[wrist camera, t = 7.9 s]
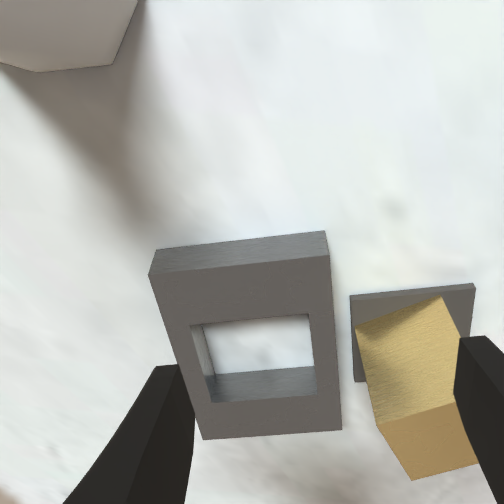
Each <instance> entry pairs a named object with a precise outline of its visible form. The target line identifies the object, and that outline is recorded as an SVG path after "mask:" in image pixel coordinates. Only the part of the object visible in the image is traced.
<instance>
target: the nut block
mask: <svg viewBox="0 0 504 504" xmlns="http://www.w3.org/2000/svg"><path fill="white" fill-rule="evenodd" d="M354 327H355V332H356V336H357V341H358V345H359V350H360V354H361V358H362V363H363V367H364V372H365V376H366V381H367V385H368V390H369V394H370V398H371V403H372V407H373V412H374V416H375V421H376V425H377V427H378V429H379V430H380V432H381V433H382V435H383V436H384V438H385V440H386V441H387V443H388V444H389V446H390V447H391V449H392V451H393V452H394V454H395V455H396V457H397V458H398V460H399V462H400V463H401V465H402V466H403V468H404V470H405V471H406V473H407V474H408V476H409V477H410V479H411V481H413V480H417V479H420V478H424V477H428V476H432V475H436V474H440V473H443V472H447V471H451V470H455V469H459V468H462V467H466V466H470V465H474V464H478V463H479V462H478V460H477V457H476V455H475V453H474V451H473V448H472V446H471V444H470V442H469V439H468V437H467V435H466V432H465V430H464V427H463V423H462V420H461V417H460V414H459V411H458V408H457V404H456V401H455V398H454V395H453V388H454V379H455V371H456V362H457V354H458V346H459V338H461V337H460V335H459V332H458V330H457V328H456V326H455V324H454V322H453V320H452V318H451V316H450V314H449V312H448V309H447V307H446V305H445V303H444V301H443V299H442V297H441V295H438V296H435V297H432V298H429V299H427V300H424V301H421V302H419V303H416V304H413V305H410V306H408V307H405V308H402V309H400V310H397V311H394V312H391V313H389V314H386V315H383V316H381V317H378V318H375V319H372V320H370V321H367V322H364V323H362V324H359V325H356V326H354Z"/></svg>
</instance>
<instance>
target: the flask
mask: <svg viewBox="0 0 504 504" xmlns="http://www.w3.org/2000/svg"><path fill="white" fill-rule="evenodd" d="M137 3H138V0H0V62H1V63H5V64H8V65H12V66H15V67H19V68H22V69H26V70H29V71H34V72H39V73H41V72H50V71H59V70H67V69H76V68H85V67H94V66H103V65H112V64H113V62H114V59H115V57H116V54H117V52H118V49H119V47H120V44H121V42H122V39H123V37H124V35H125V32H126V30H127V27H128V25H129V22H130V20H131V17H132V15H133V13H134V10H135V8H136V5H137Z"/></svg>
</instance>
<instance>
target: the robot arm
mask: <svg viewBox="0 0 504 504" xmlns="http://www.w3.org/2000/svg"><path fill="white" fill-rule="evenodd" d="M453 395H454V398H455V401H456V404H457V408H458V411H459V414H460V417H461V420H462V423H463V427H464V430H465V432H466V435H467V437H468V439H469V442H470V444H471V446H472V448H473V451H474V453H475V455H476V457H477V460H478V462H479V464H480V466H481V469H482V471H483V473H484V475H485V477H486V480H487V482H488V484H489V486H490V488H491V491H492V493H493V495H494V497H495V500H496V502H497V504H504V353H503V352H502V351H501V350H500V349H499V348H498V347H497V346H496V345H495V344H494V343H493V342H492V341H491V340H490V339H489V338H487V337H486V336H474V337H463V338H459V346H458V354H457V362H456V371H455V379H454V388H453ZM194 430H195V412H194V409H193V406H192V403H191V400H190V397H189V394H188V390H187V387H186V384H185V381H184V378H183V375H182V372H181V369H180V366H179V364H174V365H164V366H156V367H155V368H154V370H153V371H152V373H151V375H150V377H149V378H148V380H147V382H146V383H145V385H144V387H143V389H142V390H141V392H140V394H139V395H138V397H137V399H136V400H135V402H134V404H133V405H132V407H131V409H130V410H129V412H128V413H127V415H126V417H125V418H124V420H123V421H122V423H121V424H120V426H119V427H118V429H117V431H116V432H115V434H114V435H113V437H112V438H111V440H110V441H109V443H108V444H107V446H106V447H105V448H104V450H103V451H102V453H101V454H100V455H99V457H98V458H97V460H96V461H95V462H94V464H93V465H92V467H91V468H90V469H89V471H88V472H87V473H86V475H85V476H84V477H83V479H82V480H81V481H80V483H79V484H78V485H77V486H76V488H75V489H74V490H73V492H72V493H71V494H70V495H69V496H68V498H67V499H66V500H65V501H64V502H63V504H184V502H185V496H186V491H187V485H188V479H189V474H190V468H191V462H192V456H193V446H194Z"/></svg>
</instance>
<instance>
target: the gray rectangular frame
mask: <svg viewBox="0 0 504 504" xmlns="http://www.w3.org/2000/svg"><path fill="white" fill-rule="evenodd" d="M148 277H149V280H150V283H151V286H152V289H153V292H154V295H155V298H156V301H157V304H158V307H159V310H160V313H161V316H162V319H163V322H164V325H165V328H166V331H167V334H168V337H169V340H170V343H171V346H172V349H173V352H174V355H175V358H176V361H177V364H179V366H180V369H181V372H182V375H183V378H184V381H185V384H186V387H187V390H188V394H189V397H190V400H191V403H192V406H193V409H194V412H195V418H196V421H197V424H198V427H199V430H200V433H201V436H202V439H203V440H213V439H226V438H240V437H254V436H267V435H281V434H295V433H308V432H322V431H336V430H342V419H341V405H340V392H339V378H338V365H337V351H336V338H335V324H334V310H333V297H332V283H331V270H330V256H329V250H328V245H327V240H326V235H325V231H316V232H308V233H299V234H290V235H281V236H273V237H264V238H255V239H247V240H238V241H229V242H221V243H212V244H203V245H194V246H186V247H177V248H168V249H160V250H156V252H155V255H154V258H153V261H152V264H151V267H150V270H149V273H148ZM307 313H309V322H310V331H311V340H312V349H313V358H314V366H310V367H299V368H287V369H276V370H264V371H253V372H241V373H230V374H218V375H215V372H214V369H213V365H212V362H211V358H210V354H209V351H208V347H207V343H206V340H205V336H204V333H203V329H202V325H201V324H205V323H215V322H225V321H235V320H245V319H256V318H266V317H276V316H286V315H296V314H307Z"/></svg>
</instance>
